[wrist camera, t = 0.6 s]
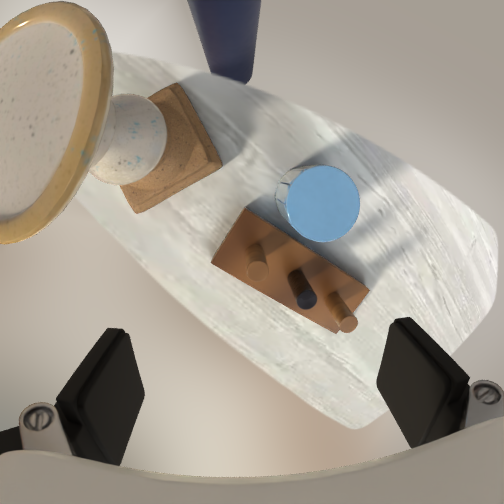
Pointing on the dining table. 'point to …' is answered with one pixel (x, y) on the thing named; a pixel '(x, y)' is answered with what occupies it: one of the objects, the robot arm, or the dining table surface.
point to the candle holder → (84, 123)
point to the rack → (290, 273)
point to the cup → (318, 201)
